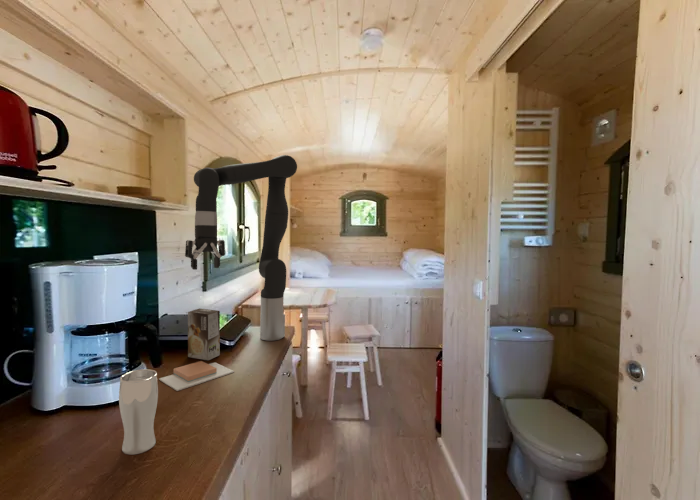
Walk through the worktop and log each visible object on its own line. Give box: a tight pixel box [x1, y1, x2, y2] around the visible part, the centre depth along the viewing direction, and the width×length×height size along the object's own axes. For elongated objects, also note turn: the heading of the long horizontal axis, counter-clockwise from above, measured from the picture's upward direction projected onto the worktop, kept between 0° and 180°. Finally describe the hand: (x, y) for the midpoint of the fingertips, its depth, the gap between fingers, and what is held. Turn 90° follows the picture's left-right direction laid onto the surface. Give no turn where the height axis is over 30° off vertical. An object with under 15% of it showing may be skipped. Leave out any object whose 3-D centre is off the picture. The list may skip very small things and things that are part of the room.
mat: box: [158, 362, 235, 392], centre depth 111 cm, size 18×11×1 cm, turn 141°
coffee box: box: [187, 308, 221, 361], centre depth 128 cm, size 9×6×16 cm
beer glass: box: [118, 368, 159, 456], centre depth 75 cm, size 7×7×15 cm
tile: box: [173, 360, 217, 382], centre depth 112 cm, size 9×2×9 cm
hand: (205, 268), depth 133 cm, fingers open, 8 cm apart
